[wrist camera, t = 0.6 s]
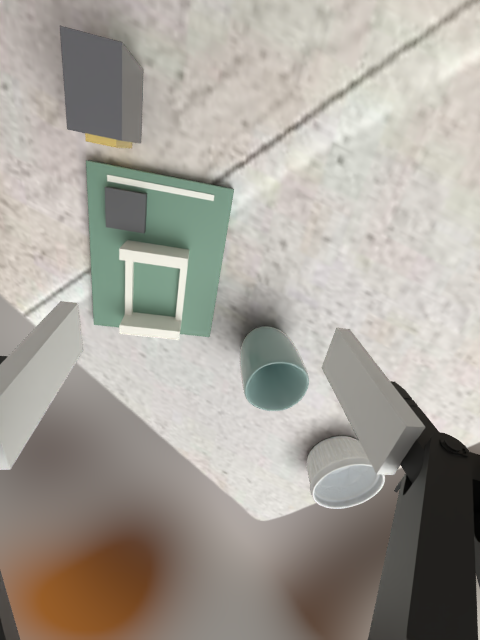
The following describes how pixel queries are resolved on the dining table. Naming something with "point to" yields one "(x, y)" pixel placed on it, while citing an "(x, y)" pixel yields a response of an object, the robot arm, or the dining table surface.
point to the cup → (272, 370)
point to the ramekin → (341, 473)
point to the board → (155, 250)
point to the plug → (101, 89)
